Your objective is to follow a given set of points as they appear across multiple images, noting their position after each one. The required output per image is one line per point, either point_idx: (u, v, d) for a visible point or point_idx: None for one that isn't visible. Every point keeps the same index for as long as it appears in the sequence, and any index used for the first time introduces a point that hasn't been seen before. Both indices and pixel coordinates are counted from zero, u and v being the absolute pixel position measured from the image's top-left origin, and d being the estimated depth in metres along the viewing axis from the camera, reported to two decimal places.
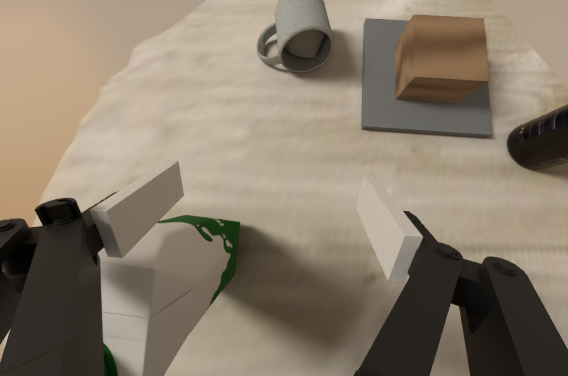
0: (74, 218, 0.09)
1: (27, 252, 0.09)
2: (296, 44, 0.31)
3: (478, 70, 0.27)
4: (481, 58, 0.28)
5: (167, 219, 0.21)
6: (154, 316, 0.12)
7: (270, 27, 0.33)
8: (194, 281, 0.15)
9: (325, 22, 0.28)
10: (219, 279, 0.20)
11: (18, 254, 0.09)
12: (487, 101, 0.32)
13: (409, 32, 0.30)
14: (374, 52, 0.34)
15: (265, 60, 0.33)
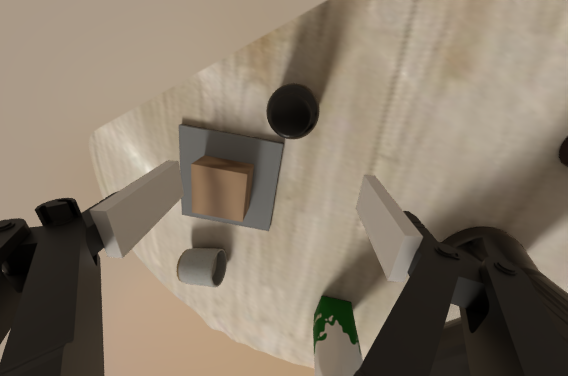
0: (74, 218, 0.09)
1: (27, 252, 0.09)
2: (213, 272, 0.47)
3: (238, 179, 0.35)
4: (227, 174, 0.35)
5: None
6: None
7: None
8: (338, 362, 0.39)
9: (204, 268, 0.43)
10: (345, 334, 0.44)
11: (18, 254, 0.09)
12: (253, 140, 0.38)
13: None
14: None
15: None
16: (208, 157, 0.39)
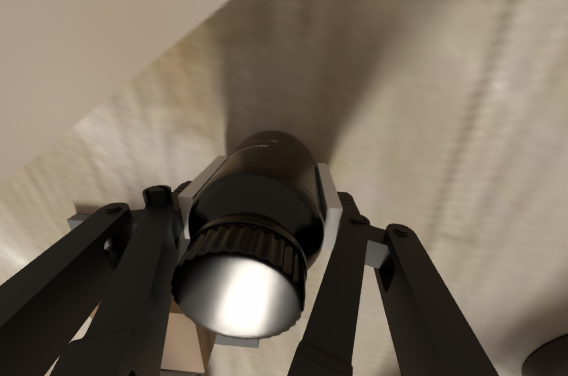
0: (167, 204, 0.11)
1: (133, 231, 0.10)
2: None
3: (178, 322, 0.18)
4: None
5: None
6: None
7: None
8: None
9: None
10: None
11: (126, 231, 0.10)
12: None
13: None
14: None
15: None
16: None
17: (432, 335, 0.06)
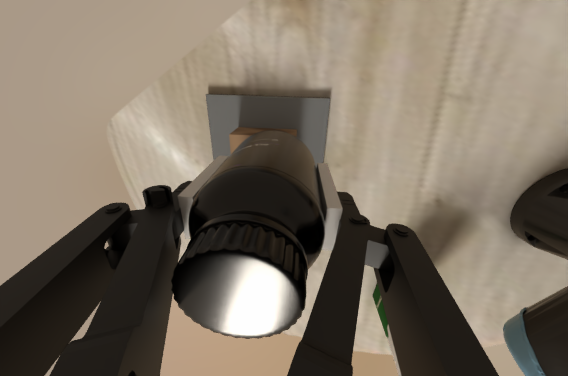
0: (167, 204, 0.11)
1: (133, 230, 0.10)
2: None
3: None
4: None
5: (383, 327, 0.42)
6: None
7: None
8: None
9: None
10: None
11: (126, 231, 0.10)
12: (294, 99, 0.32)
13: None
14: None
15: None
16: (244, 128, 0.33)
17: (432, 335, 0.06)
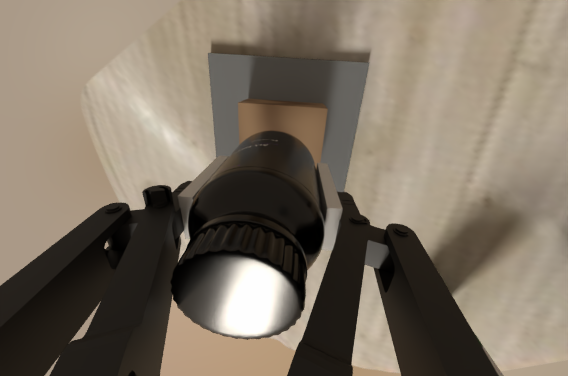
0: (167, 204, 0.11)
1: (133, 230, 0.10)
2: None
3: (312, 119, 0.23)
4: (295, 113, 0.22)
5: None
6: None
7: None
8: None
9: None
10: None
11: (126, 231, 0.10)
12: (322, 62, 0.25)
13: None
14: None
15: None
16: (255, 99, 0.26)
17: (432, 335, 0.06)
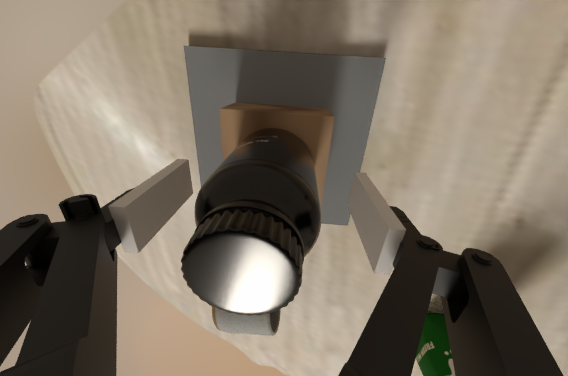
0: (94, 214, 0.10)
1: (51, 246, 0.09)
2: None
3: (314, 130, 0.18)
4: (293, 123, 0.17)
5: None
6: None
7: None
8: None
9: None
10: None
11: (42, 247, 0.09)
12: (327, 58, 0.20)
13: None
14: None
15: None
16: (244, 103, 0.21)
17: None
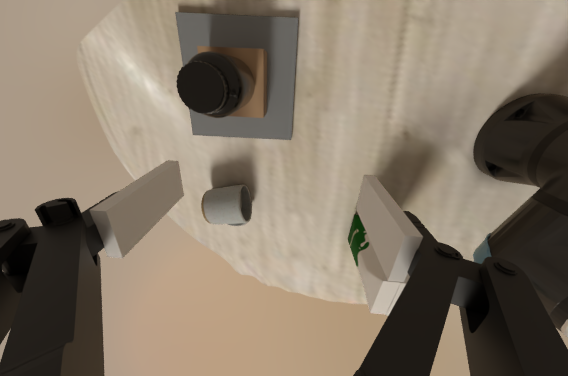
0: (74, 218, 0.09)
1: (28, 252, 0.09)
2: None
3: (253, 58, 0.30)
4: (240, 53, 0.30)
5: (354, 259, 0.43)
6: None
7: None
8: None
9: (231, 201, 0.40)
10: None
11: (18, 254, 0.09)
12: (263, 18, 0.32)
13: None
14: (224, 128, 0.40)
15: None
16: None
17: None
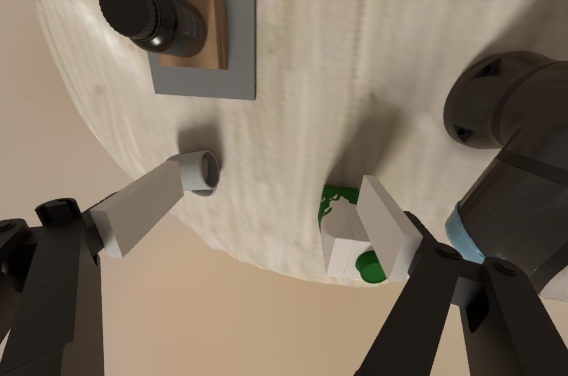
0: (74, 218, 0.09)
1: (27, 252, 0.09)
2: (205, 176, 0.44)
3: (203, 2, 0.30)
4: None
5: (319, 226, 0.42)
6: (354, 238, 0.31)
7: None
8: (346, 221, 0.34)
9: (192, 164, 0.40)
10: (352, 204, 0.39)
11: (18, 254, 0.09)
12: None
13: (173, 66, 0.34)
14: (186, 87, 0.39)
15: None
16: None
17: None
